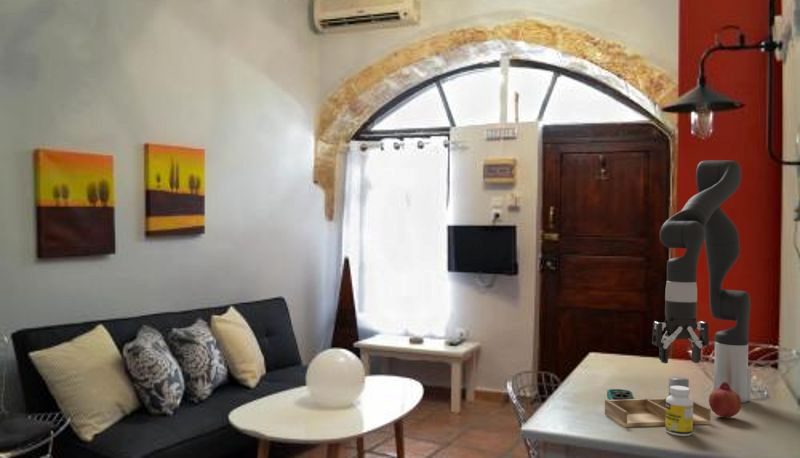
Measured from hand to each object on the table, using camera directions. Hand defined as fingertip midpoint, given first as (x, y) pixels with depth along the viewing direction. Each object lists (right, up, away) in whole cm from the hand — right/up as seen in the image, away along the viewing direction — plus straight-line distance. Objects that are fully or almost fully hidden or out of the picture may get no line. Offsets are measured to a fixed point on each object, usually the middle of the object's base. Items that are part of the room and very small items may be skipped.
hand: (680, 362), depth 173 cm
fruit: (+18, -18, +14) cm, 29 cm away
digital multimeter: (-6, -18, +28) cm, 34 cm away
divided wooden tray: (-1, -18, +12) cm, 22 cm away
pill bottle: (0, -18, 0) cm, 18 cm away
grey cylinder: (+5, -17, +12) cm, 21 cm away
